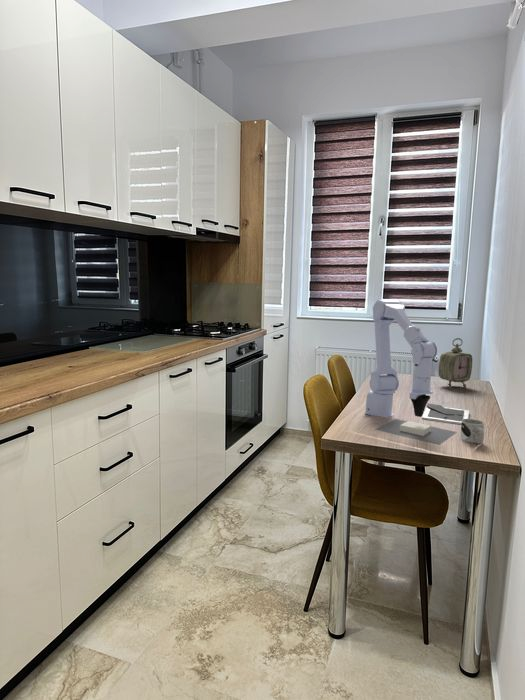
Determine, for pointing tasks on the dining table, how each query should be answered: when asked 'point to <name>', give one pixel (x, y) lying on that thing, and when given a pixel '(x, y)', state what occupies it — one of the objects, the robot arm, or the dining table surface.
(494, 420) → the dining table surface
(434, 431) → the mat
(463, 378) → the tabletop clock
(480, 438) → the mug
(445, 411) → the picture frame
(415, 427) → the tile
